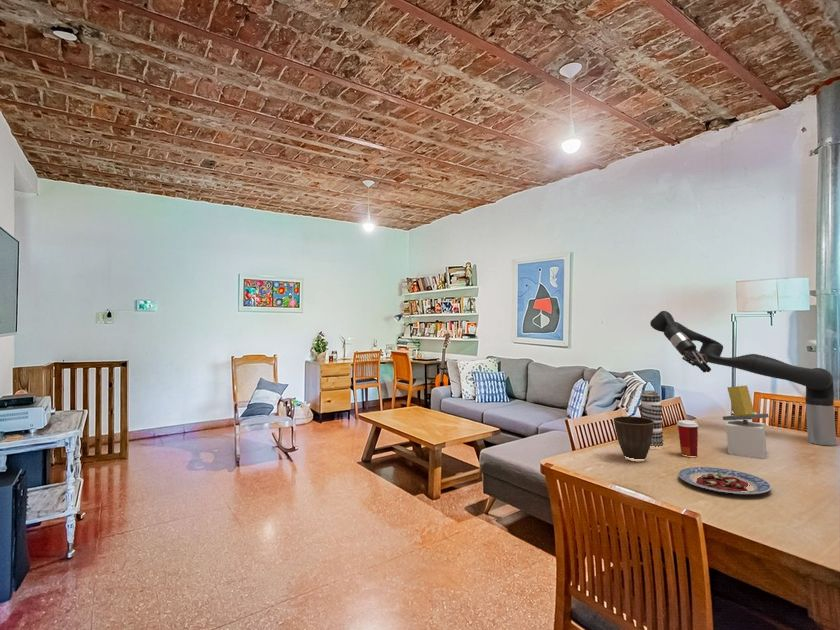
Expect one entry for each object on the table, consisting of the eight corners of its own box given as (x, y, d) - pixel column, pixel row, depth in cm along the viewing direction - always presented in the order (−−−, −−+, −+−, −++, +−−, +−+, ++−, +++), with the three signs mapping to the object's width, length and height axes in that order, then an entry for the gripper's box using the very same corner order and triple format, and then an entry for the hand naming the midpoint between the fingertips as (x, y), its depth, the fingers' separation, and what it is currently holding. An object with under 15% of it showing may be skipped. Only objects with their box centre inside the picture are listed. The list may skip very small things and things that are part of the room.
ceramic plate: (778, 506, 128) (778, 496, 128) (677, 491, 141) (677, 482, 141) (765, 479, 150) (765, 471, 150) (679, 469, 163) (678, 461, 163)
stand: (731, 447, 189) (729, 416, 189) (766, 451, 181) (764, 419, 181) (727, 453, 180) (726, 421, 180) (764, 458, 172) (762, 424, 172)
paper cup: (698, 454, 180) (696, 420, 181) (701, 459, 173) (699, 424, 174) (677, 452, 184) (675, 419, 184) (679, 457, 177) (677, 423, 177)
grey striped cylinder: (665, 445, 194) (662, 390, 195) (663, 450, 187) (661, 392, 188) (642, 443, 199) (639, 389, 200) (640, 448, 192) (637, 391, 193)
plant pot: (663, 464, 168) (661, 423, 169) (625, 465, 168) (623, 424, 169) (644, 453, 183) (642, 416, 184) (609, 454, 183) (607, 416, 184)
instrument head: (723, 420, 185) (715, 388, 188) (740, 418, 188) (732, 387, 191) (751, 419, 174) (742, 385, 177) (768, 417, 177) (759, 384, 180)
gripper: (688, 348, 213) (713, 375, 201) (667, 349, 209) (691, 377, 197) (698, 338, 208) (724, 365, 196) (676, 338, 204) (701, 366, 192)
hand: (707, 371), depth 196 cm, fingers closed
